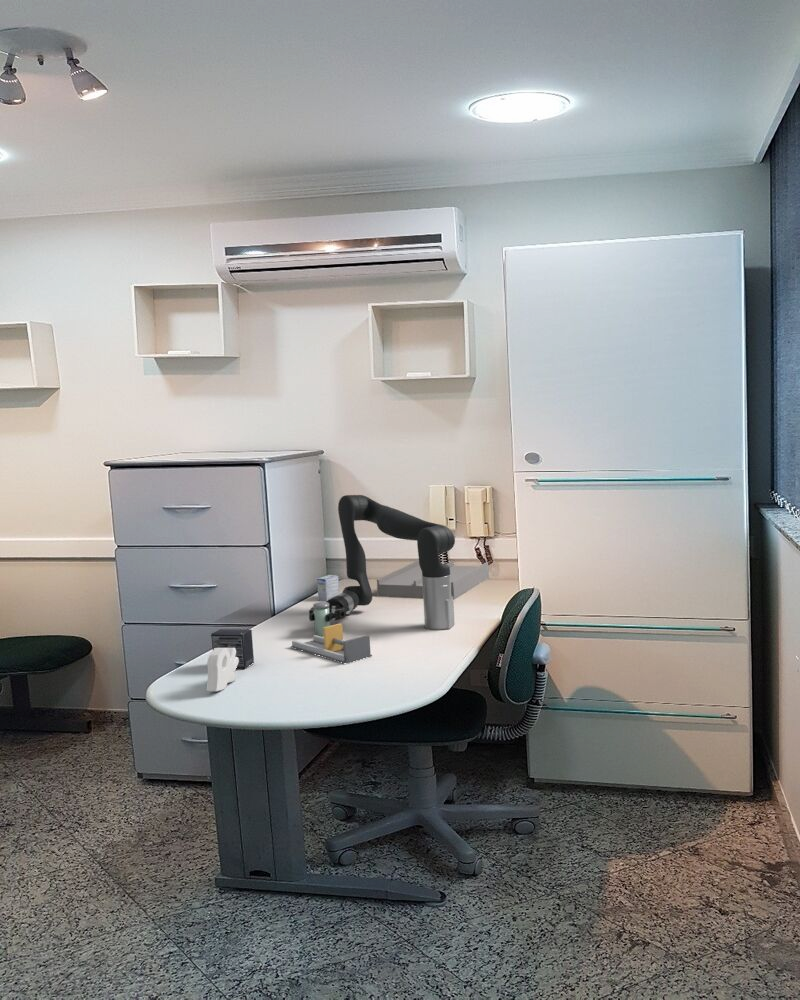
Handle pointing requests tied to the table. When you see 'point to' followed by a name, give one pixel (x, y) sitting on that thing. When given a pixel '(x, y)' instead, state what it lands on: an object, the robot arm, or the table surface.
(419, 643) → the table surface
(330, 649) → the pusher plate
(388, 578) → the desk organizer
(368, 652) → the pusher lane
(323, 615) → the green jar
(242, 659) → the small box
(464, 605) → the table surface
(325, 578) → the medicine box
